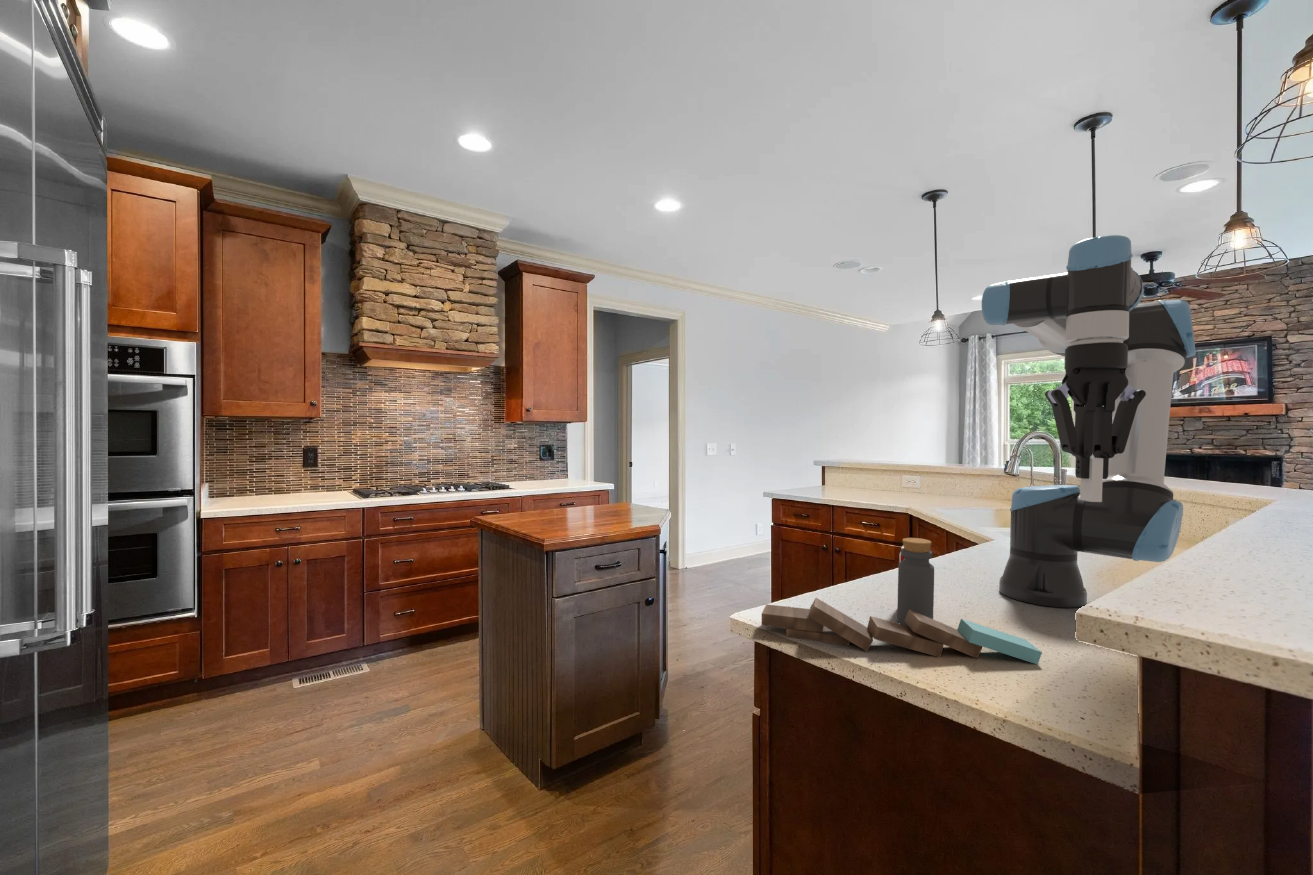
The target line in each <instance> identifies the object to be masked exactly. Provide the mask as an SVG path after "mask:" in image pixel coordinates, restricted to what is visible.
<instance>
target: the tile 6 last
mask: <svg viewBox="0 0 1313 875" xmlns="http://www.w3.org/2000/svg"><path fill="white" fill-rule="evenodd" d="M785 629H786V634H785V635H786V638H792V639H797V640H798V639H799V640H808V641H814V642H815V641H816V642H823V643H824V642H825V643H832V644H839V645H847V644H849V646H850V643H851V642H850V641H849V640H847V639H845V638H844V637H842V636H840V635H838V634H837V633H835V632H833V631H832V630H830V629H828V628H827V627H825V626H824V628H823V632H814V631H806V630H798V629H790V628H785Z"/></svg>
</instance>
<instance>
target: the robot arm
mask: <svg viewBox="0 0 1313 875" xmlns="http://www.w3.org/2000/svg"><path fill="white" fill-rule="evenodd" d="M1133 256H1134V254H1133V253H1132V241H1131V239H1130V238H1129V237H1127V236H1125V235H1119V234H1117V235H1116V234H1113V235H1112V234H1110V235H1109V234H1108V235H1100V236H1095V237H1094V236H1093V237H1090V238H1085V239H1082V240H1080V241H1078V242H1076V243H1074V244H1073V245H1071V247H1070V248H1069V251H1068V258H1067V265H1066V266H1065V268H1066V270H1067V272H1063V273H1056V274H1049V275H1043V276H1042V275H1041V276H1038V277H1037V276H1036V277H1029V278H1022V279H1015V280H1006V281H1002V282H997V283H993V284H990V285H988V286H986V288H985V289H984V291H983V293H982V296H981V313H982V317H983V320H984V321H985V322H986V324H987V325H989V326H1006V325H1011V324H1013V325H1015V326H1016V327H1018V328H1020V329H1022V330H1023V331H1025V332H1027V333H1028V334H1030V335H1032V336H1033V337H1035V338H1037V339H1038V340H1039V343H1040V344H1041V345H1042V347H1043V348H1044V349H1046V350H1047V351H1049V352H1050V353H1052V354H1056V355H1058V356H1061V357H1064V371H1065V375H1064V377H1063V379H1062V380H1061V385H1059V386H1057V387H1056V388H1054V389H1049V390H1047V391H1045V392H1044V396H1045V398H1046V399H1047V401H1048V402H1049V405H1051V409H1052V414H1053V418H1054V422H1055V425H1056V426H1055V427H1056V431H1057V434H1058V438H1059V444H1060V448H1061V451H1062V452H1064V453H1068V454H1070V455H1072V456H1073V457H1075V466H1074V467H1075V469H1074V470H1075V471H1074V474H1075V477H1076V478H1077V479H1080V482H1079V484H1080V486H1079V485H1077V484H1050V485H1037V486H1036V485H1034V486H1024V487H1019V488H1017V489H1015V490H1014V491H1013V492H1012V496H1011V504H1010V509H1009V511H1010V528H1009V529H1010V532H1009V534H1010V536H1009V538H1010V539H1009V540H1010V541H1009V557H1008V560H1007V562H1006V565H1005V567H1004V569H1003V570H1004V571H1003V573H1002V575H1001V577H1000V579H999V585H998V587H999V589H998V590H999V592H1000V594H1002V595H1004V596H1006V597H1008V598H1010V599H1013V600H1016V601H1020V602H1025V603H1029V604H1033V605H1038V606H1044V607H1045V606H1047V607H1052V608H1053V607H1054V608H1080V607H1084V606H1086V605H1087V604H1088V592H1087V589H1086V588H1085V586H1084V582H1083V577H1082V574H1081V572H1080V571H1081V570H1080V568H1079V565H1078V552H1080V553H1085V554H1086V553H1087V554H1092V555H1093V554H1094V555H1100V556H1101V555H1102V556H1105V557H1106V556H1108V557H1115V558H1121V559H1129V560H1132V561H1135V562H1139V561H1144V562H1145V561H1146V562H1153V563H1162V562H1165V561H1167V560H1169V559H1170V557H1172V555H1173V553H1174V551H1175V548H1176V546H1177V544H1178V539H1179V537H1180V536H1179V535H1180V532H1181V529H1182V528H1181V527H1182V521H1183V516H1184V505H1183V502H1181V501H1179V500H1177V499H1174V491H1173V490H1172V488H1169V487H1168V485H1166V484H1165V482H1164V481H1165V472H1166V471H1165V470H1166V460H1167V459H1166V458H1167V449H1168V448H1167V447H1168V438H1169V437H1168V436H1169V427H1170V416H1171V404H1172V391H1173V379H1174V374H1175V373H1176V372H1177V371H1179V370H1180V369H1182V368H1184V366H1185V362H1186V358H1187V359H1188V358H1190V357H1194V356H1196V355H1197V353H1196V346H1195V345H1196V343H1195V335H1194V328H1193V320H1192V313H1191V311H1192V310H1191V306H1190V304H1189V303H1188V302H1187V301H1186V300H1182V299H1173V300H1172V299H1171V300H1163V299H1162V300H1161V299H1159V300H1157V301H1153V302H1151V301H1150V302H1143V303H1142V302H1141V301H1142V299H1143V295H1144V292H1145V289H1144V285H1143V280H1142V277H1141V275H1139V273H1138V272H1136V271H1135V270H1134V269H1133V267H1132V258H1133ZM1140 302H1141V303H1140ZM1069 397H1070V398H1071V400H1072V401H1073V412H1074V414H1075V416H1074V419H1073V414H1072V410H1071V405H1070V402H1069V400H1068V398H1069ZM1092 456H1093V457H1092ZM1085 604H1086V605H1085ZM1083 605H1084V606H1083Z"/></svg>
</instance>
